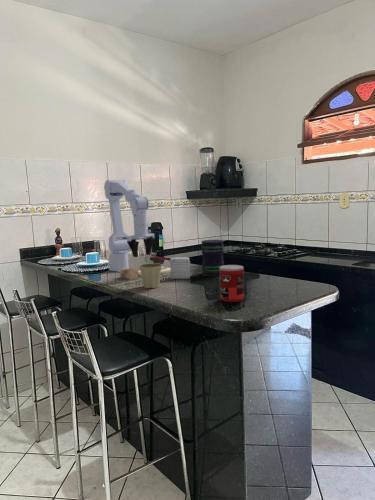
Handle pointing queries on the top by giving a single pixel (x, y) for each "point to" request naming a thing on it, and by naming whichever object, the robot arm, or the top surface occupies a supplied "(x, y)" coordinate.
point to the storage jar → (212, 257)
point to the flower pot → (150, 274)
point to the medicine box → (180, 268)
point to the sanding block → (128, 273)
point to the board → (163, 269)
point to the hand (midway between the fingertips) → (141, 255)
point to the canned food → (231, 283)
